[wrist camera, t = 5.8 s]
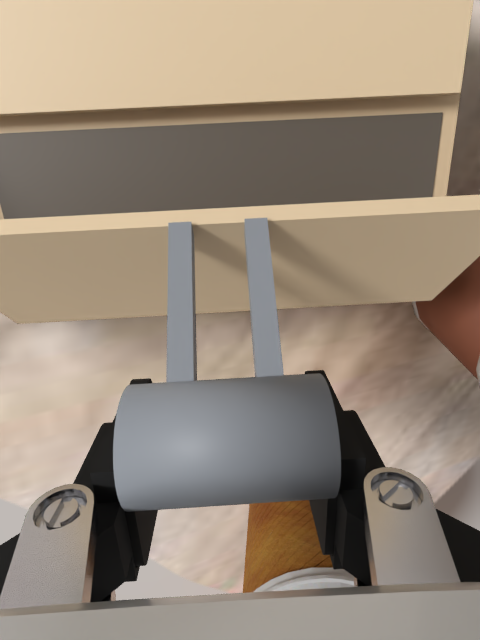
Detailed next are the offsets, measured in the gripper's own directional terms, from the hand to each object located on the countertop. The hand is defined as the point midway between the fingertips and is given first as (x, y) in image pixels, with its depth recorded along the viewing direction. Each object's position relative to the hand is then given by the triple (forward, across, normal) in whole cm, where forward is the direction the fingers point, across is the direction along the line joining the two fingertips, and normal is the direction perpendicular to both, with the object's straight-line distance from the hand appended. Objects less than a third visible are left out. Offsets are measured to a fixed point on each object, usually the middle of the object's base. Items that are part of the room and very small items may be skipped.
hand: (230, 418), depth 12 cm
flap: (+3, 0, -4) cm, 5 cm away
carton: (+15, 0, -9) cm, 17 cm away
